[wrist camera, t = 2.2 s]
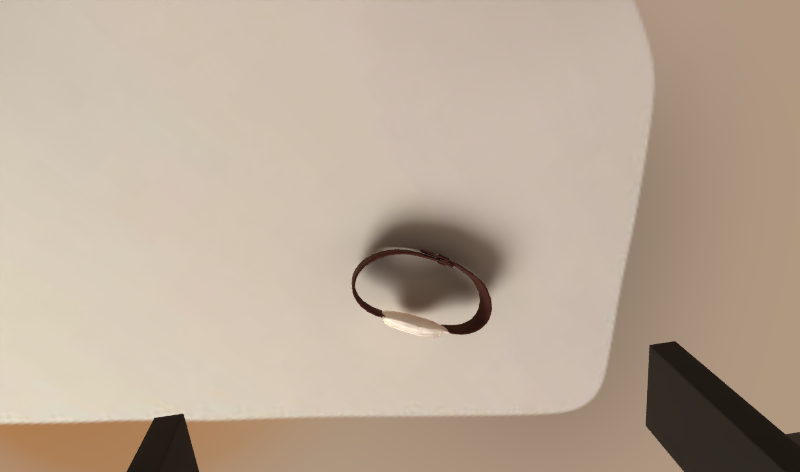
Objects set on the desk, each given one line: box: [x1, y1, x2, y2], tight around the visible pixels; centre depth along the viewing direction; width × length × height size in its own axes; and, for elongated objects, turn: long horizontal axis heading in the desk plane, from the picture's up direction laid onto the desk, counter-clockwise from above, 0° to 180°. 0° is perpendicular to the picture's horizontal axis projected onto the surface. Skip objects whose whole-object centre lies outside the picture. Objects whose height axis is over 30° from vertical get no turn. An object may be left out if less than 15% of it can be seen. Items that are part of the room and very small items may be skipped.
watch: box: [352, 249, 492, 338], centre depth 29 cm, size 8×5×4 cm, turn 73°
